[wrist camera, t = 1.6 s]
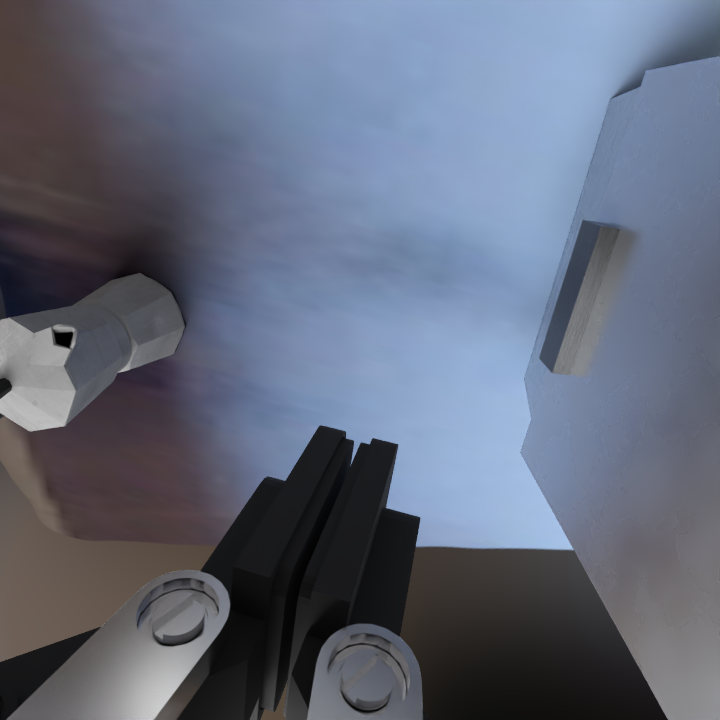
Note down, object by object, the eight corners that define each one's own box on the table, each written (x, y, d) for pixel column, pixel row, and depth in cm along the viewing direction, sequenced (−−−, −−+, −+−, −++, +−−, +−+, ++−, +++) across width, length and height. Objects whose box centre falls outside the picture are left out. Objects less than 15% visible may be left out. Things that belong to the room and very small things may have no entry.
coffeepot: (153, 239, 47) (-24, 286, 30) (217, 319, 48) (83, 404, 32) (65, 325, 53) (-120, 401, 37) (125, 393, 54) (-26, 495, 38)
